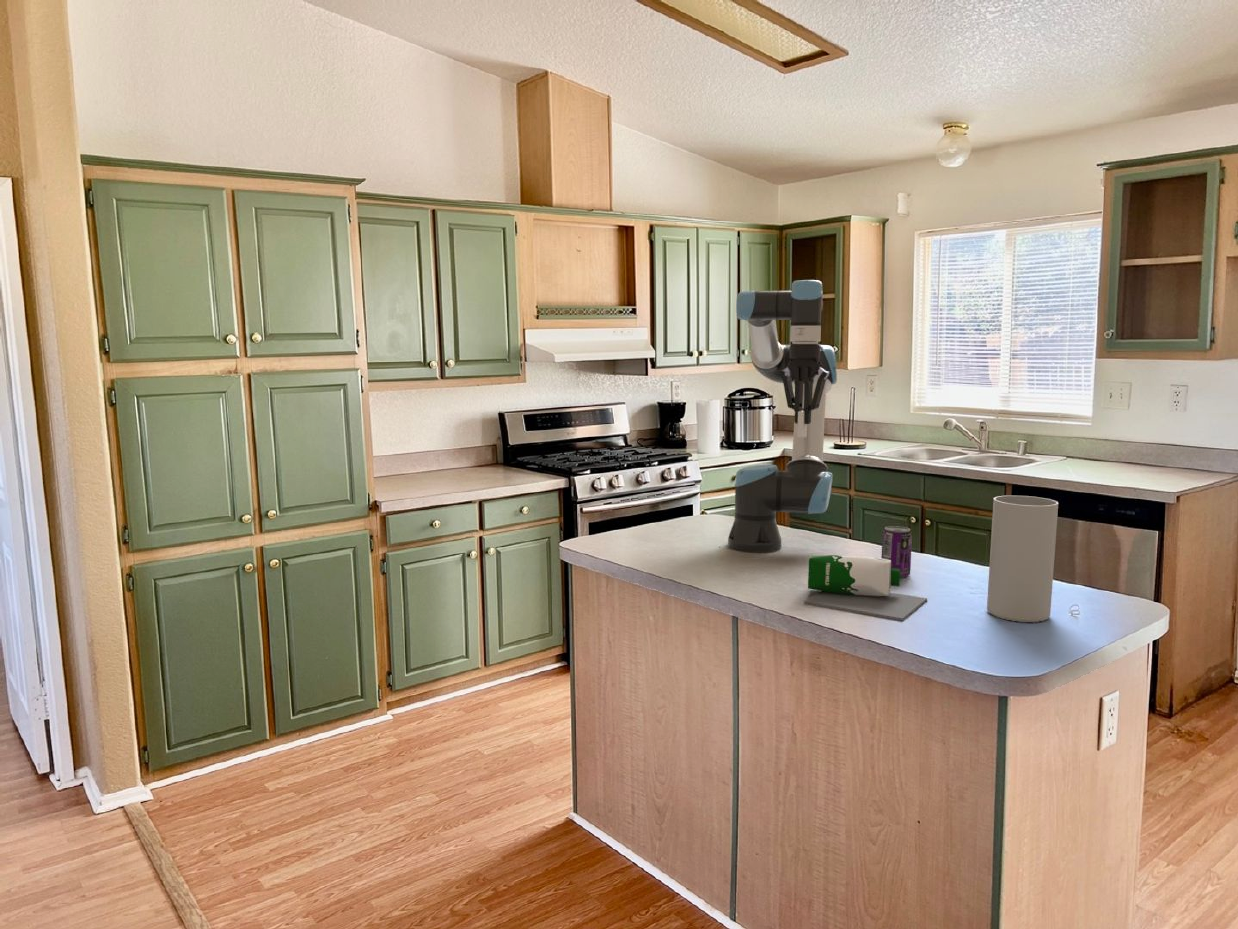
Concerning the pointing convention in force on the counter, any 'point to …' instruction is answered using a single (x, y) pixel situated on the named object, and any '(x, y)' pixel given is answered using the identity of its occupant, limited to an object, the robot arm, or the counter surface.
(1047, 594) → the cylinder vase
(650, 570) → the counter surface
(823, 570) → the soya milk
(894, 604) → the mat
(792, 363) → the robot arm
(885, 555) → the beverage can
